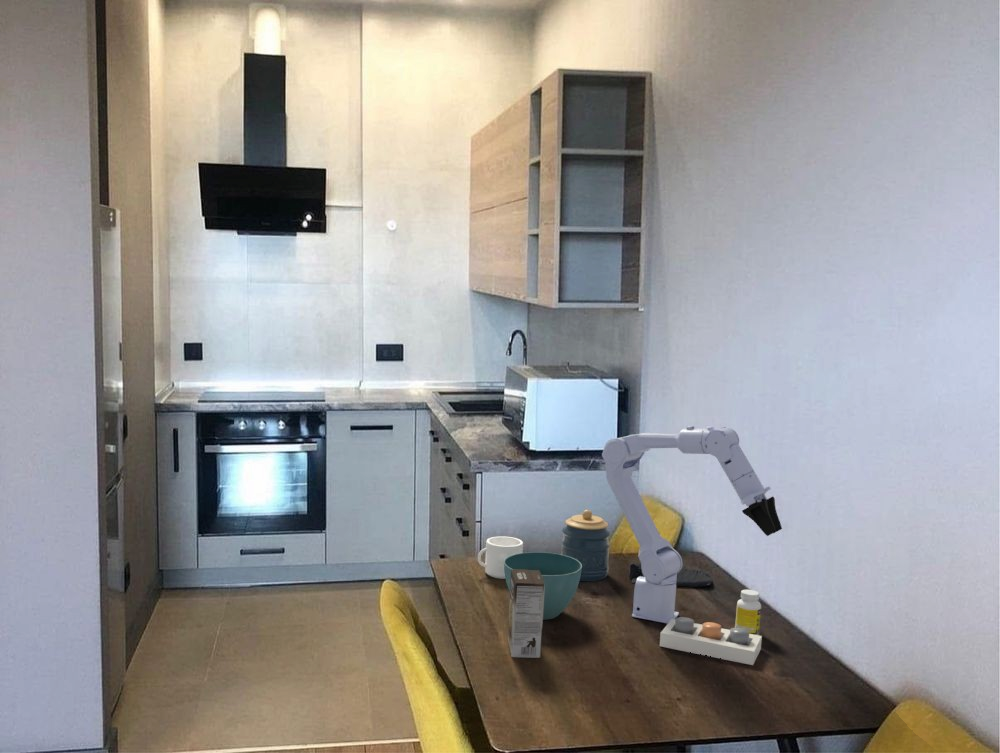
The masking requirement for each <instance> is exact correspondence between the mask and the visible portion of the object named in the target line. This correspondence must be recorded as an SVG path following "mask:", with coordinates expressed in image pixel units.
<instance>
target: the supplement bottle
mask: <svg viewBox="0 0 1000 753" xmlns="http://www.w3.org/2000/svg"><path fill="white" fill-rule="evenodd" d="M759 600H760V593H759V592H758V591H757V590H754V589H742V590H741V591H740V599H738V600H737V603H736V611H735V622H734V623H735V624H734V628H744V629H746V630H748V631H749V634H754V635H759V636H760V628H761V627H760V626H761V624H760V623H761V614H762V604H761V603H760V601H759Z"/></svg>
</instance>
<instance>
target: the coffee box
mask: <svg viewBox="0 0 1000 753" xmlns="http://www.w3.org/2000/svg"><path fill="white" fill-rule="evenodd" d="M544 591H545V583H544V581H543V578H542V576H541V573H540V571H539V570H524V569H511V581H510V592H509V604H508V605H509V608H508V625H507V626H508V628H507V629H508V630H507V643H508V648H509V650H510V656H511V658H528V659H529V658H532V659H533V658H534V659H535V658H536V659H537V658H538V659H539V658H541V653H542V639H543V637H542V636H543V623H544V622H543V609H544Z"/></svg>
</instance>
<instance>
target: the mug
mask: <svg viewBox="0 0 1000 753" xmlns="http://www.w3.org/2000/svg"><path fill="white" fill-rule="evenodd" d="M523 550H524V542H523V541H522V539H519V538H517V537H512V536H492V537H488V538H487V539H486V542H485V547H484V548H482V549H481V550H480V551H479V552H478V554H477V563H479V565H480V566H482V567H483V568H484V571H485V573H486V574H487V575H488V576H489V577H491V578H495V579H500V580H506V578H505V572H504V560H505V559H506V558H507V557H509V556H511V555H515V554H519V553H524V552H523ZM483 553H485V558H484V559H485V563H484V562H483V561H482V558H481V557H482V555H483Z"/></svg>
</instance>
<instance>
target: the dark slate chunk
mask: <svg viewBox="0 0 1000 753" xmlns="http://www.w3.org/2000/svg"><path fill="white" fill-rule="evenodd" d="M639 576H641V577H644V575H643V573H642V569H641V562H640V563H639V562H630V563H629V564H628V579H629V578H630V579H629V580H630V582H631V583H632V584H633V583H634V585H635V584H636V580H637V578H638V577H639ZM631 579H632V580H631ZM711 584H712V577H711V576H710V574H709V573H708V572H707V571H705V570H700V569H690V568H683V567H682V568H681V570H680V571H679V572H678V573H677V581H676V587H681V586H683V587H685V586H689V587H690V588H698V586H699V587H701V588H703V587H709V586H710V585H711ZM689 587H688V588H689Z"/></svg>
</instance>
